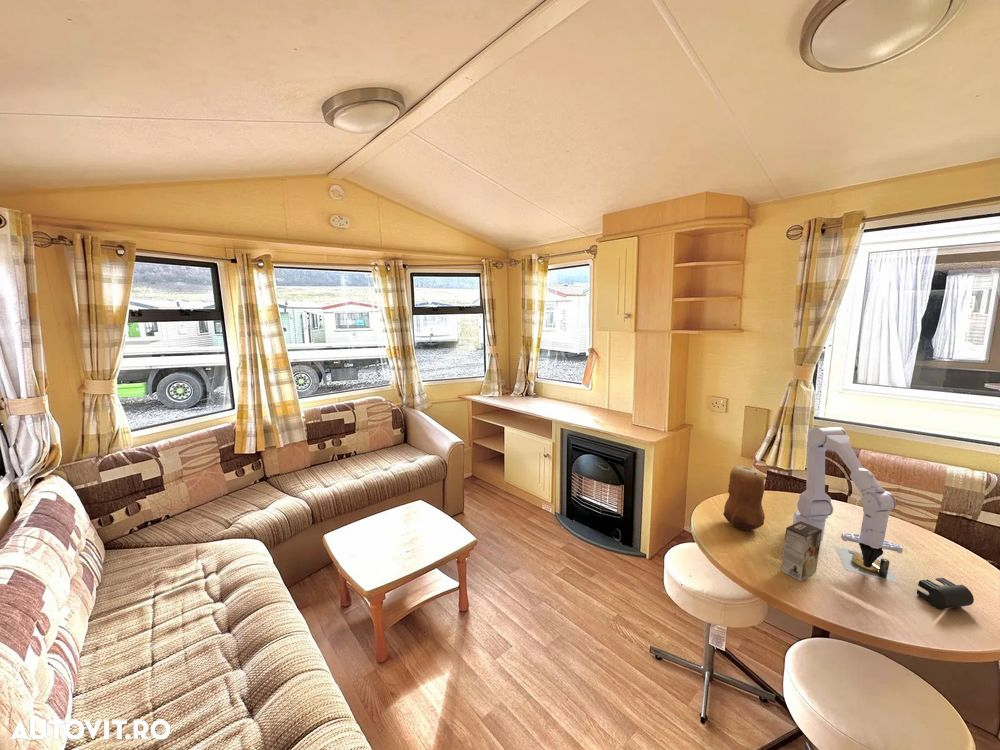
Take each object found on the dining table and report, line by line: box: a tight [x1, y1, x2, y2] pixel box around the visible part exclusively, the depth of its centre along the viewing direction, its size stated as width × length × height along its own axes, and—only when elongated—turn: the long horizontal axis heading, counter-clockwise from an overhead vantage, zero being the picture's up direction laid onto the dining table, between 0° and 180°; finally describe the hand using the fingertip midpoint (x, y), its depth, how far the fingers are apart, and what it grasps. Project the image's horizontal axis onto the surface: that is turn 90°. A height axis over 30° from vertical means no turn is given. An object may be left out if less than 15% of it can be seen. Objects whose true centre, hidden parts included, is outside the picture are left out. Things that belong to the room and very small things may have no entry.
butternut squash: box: [722, 465, 766, 531], centre depth 157 cm, size 14×13×25 cm
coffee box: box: [780, 521, 822, 582], centre depth 131 cm, size 9×6×16 cm
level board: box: [835, 546, 899, 584], centre depth 135 cm, size 13×15×1 cm
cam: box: [852, 554, 890, 578], centre depth 133 cm, size 10×8×6 cm
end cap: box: [916, 577, 975, 610], centre depth 117 cm, size 10×7×7 cm
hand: (866, 565), depth 131 cm, fingers closed
